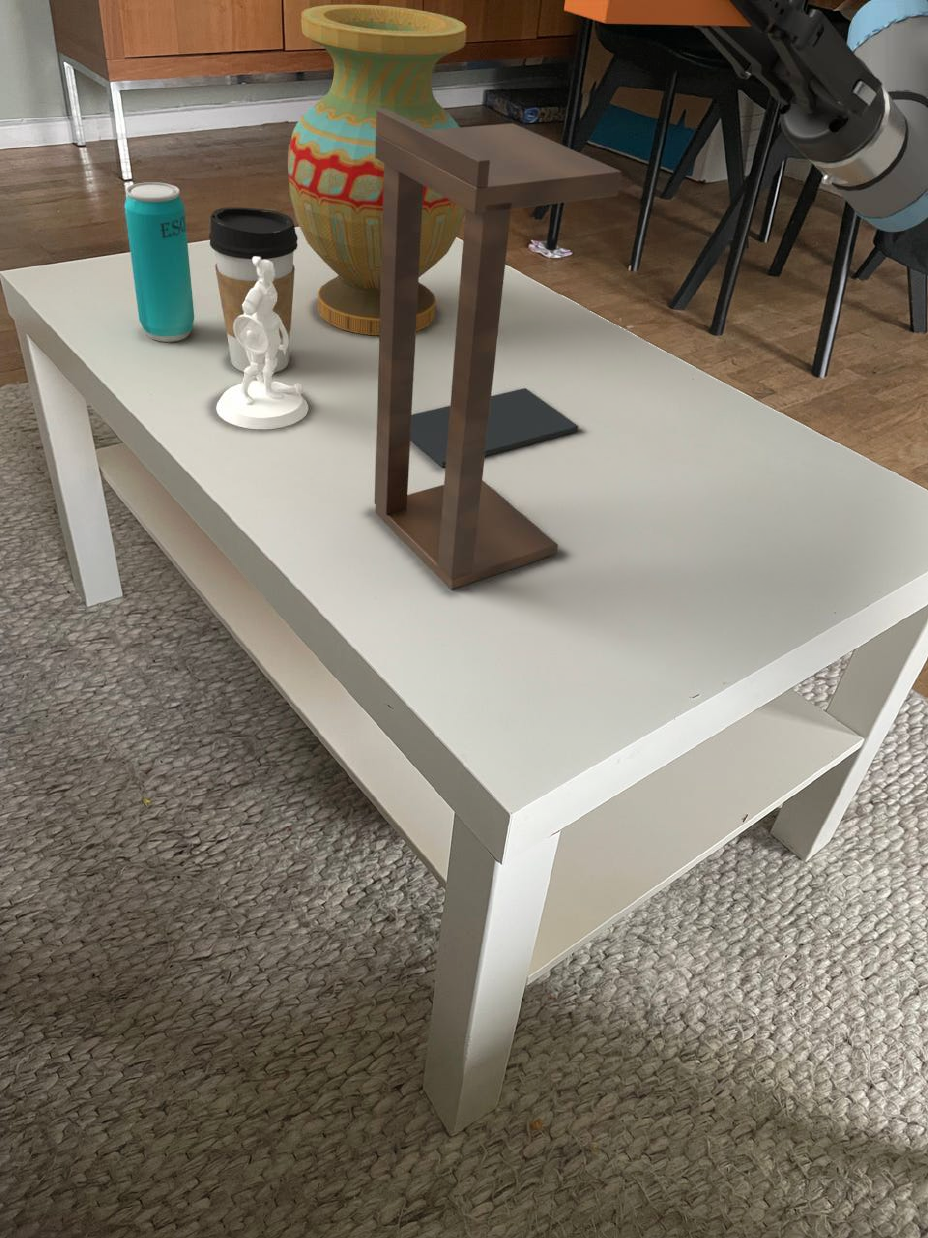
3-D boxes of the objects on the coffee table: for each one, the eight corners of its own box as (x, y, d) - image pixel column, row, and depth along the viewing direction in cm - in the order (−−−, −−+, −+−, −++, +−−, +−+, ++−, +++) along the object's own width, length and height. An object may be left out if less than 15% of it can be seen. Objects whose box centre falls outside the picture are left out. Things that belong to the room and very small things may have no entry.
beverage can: (207, 332, 110) (194, 189, 101) (169, 349, 106) (153, 202, 97) (167, 317, 112) (151, 177, 103) (129, 334, 108) (109, 189, 99)
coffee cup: (214, 347, 108) (202, 202, 98) (293, 342, 110) (289, 201, 100) (224, 382, 101) (212, 232, 92) (307, 377, 104) (304, 229, 94)
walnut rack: (476, 484, 90) (515, 99, 70) (556, 554, 83) (626, 146, 63) (366, 515, 85) (375, 108, 65) (442, 593, 78) (479, 160, 58)
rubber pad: (524, 392, 105) (525, 387, 105) (577, 431, 100) (578, 425, 99) (392, 424, 98) (392, 418, 97) (441, 467, 92) (442, 462, 92)
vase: (495, 319, 119) (524, 31, 100) (371, 363, 108) (378, 45, 89) (381, 268, 129) (388, -4, 110) (256, 303, 117) (241, 6, 98)
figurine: (266, 438, 93) (259, 280, 84) (196, 408, 97) (181, 253, 87) (326, 405, 99) (325, 253, 90) (258, 378, 103) (251, 229, 93)
